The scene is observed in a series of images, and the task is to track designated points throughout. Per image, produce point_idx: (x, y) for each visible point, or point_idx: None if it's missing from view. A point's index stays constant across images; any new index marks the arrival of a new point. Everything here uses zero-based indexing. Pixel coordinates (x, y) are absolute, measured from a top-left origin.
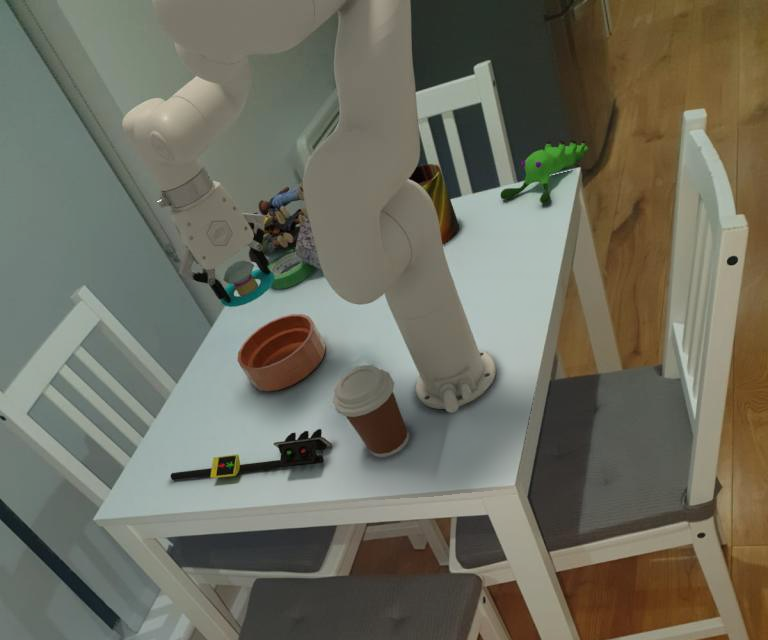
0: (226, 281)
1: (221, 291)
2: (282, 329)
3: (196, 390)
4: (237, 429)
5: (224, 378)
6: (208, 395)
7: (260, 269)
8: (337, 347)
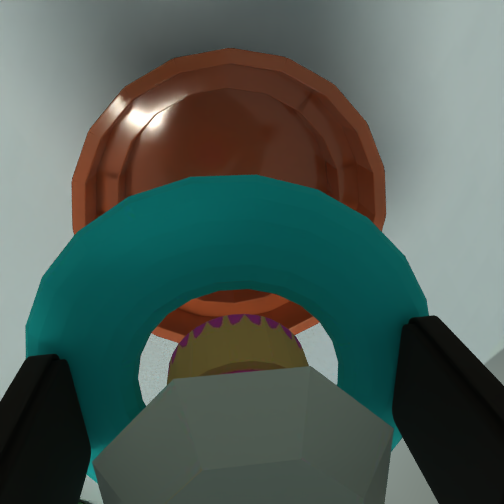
0: (386, 466)
1: (493, 378)
2: (177, 311)
3: None
4: (486, 53)
5: None
6: (438, 295)
7: (85, 449)
8: (70, 108)
